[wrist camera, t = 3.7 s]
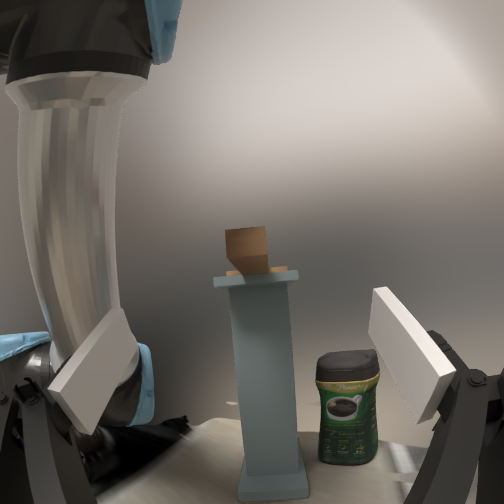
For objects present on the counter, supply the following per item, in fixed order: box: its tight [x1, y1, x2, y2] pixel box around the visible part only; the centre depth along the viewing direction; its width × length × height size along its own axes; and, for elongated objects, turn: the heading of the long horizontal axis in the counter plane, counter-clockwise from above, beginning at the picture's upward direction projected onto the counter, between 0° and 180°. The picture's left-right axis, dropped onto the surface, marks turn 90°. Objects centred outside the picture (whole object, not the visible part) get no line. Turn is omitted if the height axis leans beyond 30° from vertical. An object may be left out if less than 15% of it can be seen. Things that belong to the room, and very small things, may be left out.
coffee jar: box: [315, 349, 380, 465], centre depth 34 cm, size 10×8×19 cm
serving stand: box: [214, 270, 309, 502], centre depth 34 cm, size 9×16×30 cm, turn 176°
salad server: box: [225, 226, 288, 276], centre depth 32 cm, size 8×26×2 cm, turn 176°
